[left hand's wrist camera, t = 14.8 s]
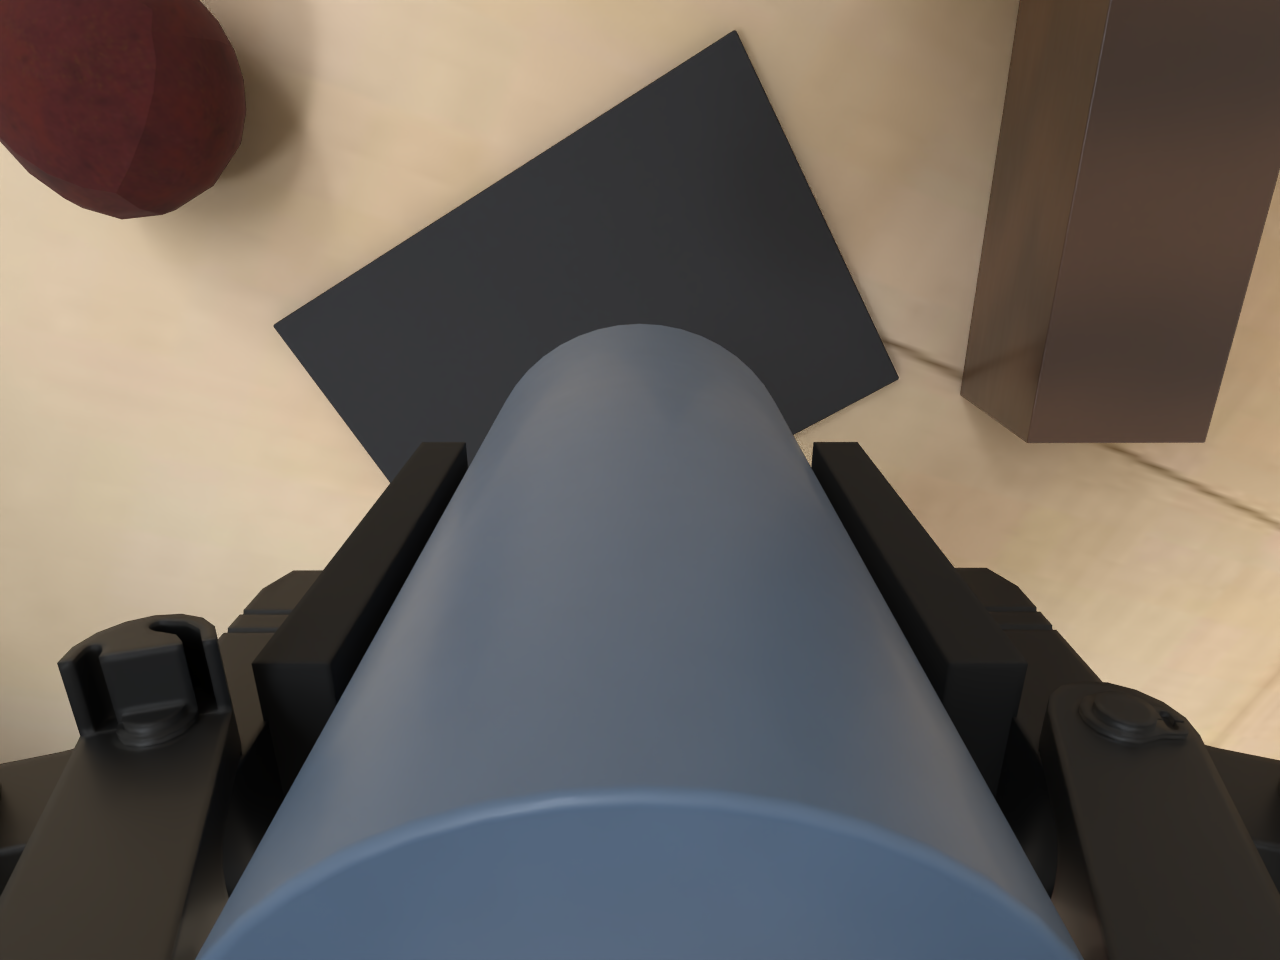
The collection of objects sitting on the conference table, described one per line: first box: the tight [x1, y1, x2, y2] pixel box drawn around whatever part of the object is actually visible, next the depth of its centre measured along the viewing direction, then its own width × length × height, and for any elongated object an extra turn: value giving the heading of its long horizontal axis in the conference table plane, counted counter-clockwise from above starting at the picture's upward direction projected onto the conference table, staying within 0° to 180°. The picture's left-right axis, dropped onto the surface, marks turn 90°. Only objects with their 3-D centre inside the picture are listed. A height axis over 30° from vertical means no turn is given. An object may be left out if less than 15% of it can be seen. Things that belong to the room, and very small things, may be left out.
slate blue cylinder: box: [195, 324, 1084, 960], centre depth 11 cm, size 6×6×12 cm
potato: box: [0, 0, 246, 219], centre depth 25 cm, size 7×8×7 cm
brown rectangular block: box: [960, 0, 1280, 443], centre depth 26 cm, size 22×6×6 cm, turn 0°
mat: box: [274, 30, 899, 483], centre depth 31 cm, size 20×14×1 cm
